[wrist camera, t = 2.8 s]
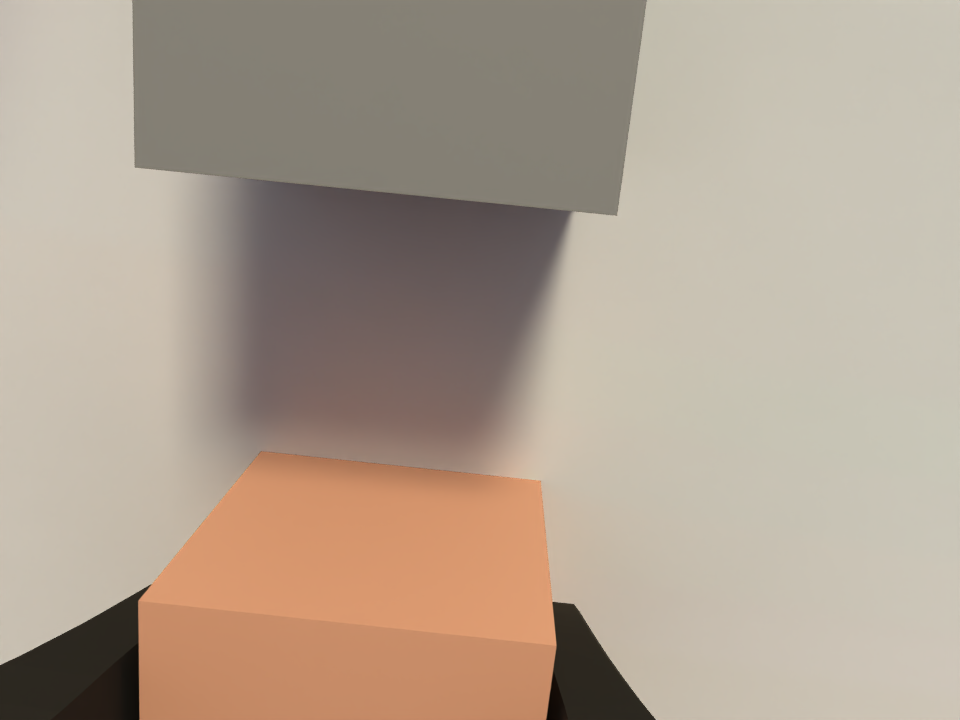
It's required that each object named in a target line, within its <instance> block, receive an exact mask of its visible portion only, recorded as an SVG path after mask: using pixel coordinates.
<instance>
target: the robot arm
mask: <svg viewBox="0 0 960 720" xmlns="http://www.w3.org/2000/svg"><path fill="white" fill-rule="evenodd" d="M151 585H152V584H151ZM151 585H149V586H148V587H146V588H144V589H142V590H141V591H139V592H137V593H136V594H134V595H132V596H130V597H129V598H127V599H125V600H123V601H122V602H120V603H118V604H116V605H115V606H113V607H111V608H109V609H108V610H106V611H104V612H102V613H101V614H99V615H97V616H95V617H94V618H92V619H90V620H88V621H86V622H85V623H83V624H81V625H79V626H77V627H75V628H73V629H71V630H69V631H67V632H65V633H64V634H62V635H60V636H58V637H56V638H54V639H52V640H50V641H48V642H46V643H44V644H42V645H40V646H38V647H36V648H34V649H33V650H31V651H29V652H27V653H25V654H23V655H21V656H19V657H17V658H15V659H12V660H10V661H8V662H6V663H4V664H2V665H0V720H140V716H139V623H138V601H139V599H140V598H141V597H142V596H143V595H144V593H145V592H146V591H147V590H148V588H149V587H150V586H151ZM552 604H553V614H554V625H555V635H556V645H557V646H556V653H555V660H554V667H553V675H552V682H551V689H550V696H549V703H548V710H547V717H546V720H656V719H655V718H654V717H653V716H652V715H651V713H650V712H649V711H648V710H647V708H646V707H645V706H644V705H643V703H642V702H641V701H640V700H639V698H638V697H637V696H636V694H635V693H634V692H633V690H632V689H631V688H630V686H629V685H628V684H627V682H626V681H625V680H624V678H623V677H622V675H621V674H620V673H619V671H618V670H617V669H616V667H615V666H614V664H613V663H612V661H611V660H610V659H609V657H608V656H607V654H606V653H605V651H604V650H603V648H602V647H601V645H600V644H599V642H598V640H597V639H596V637H595V636H594V634H593V633H592V631H591V629H590V628H589V626H588V625H587V623H586V621H585V620H584V618H583V616H582V615H581V613H580V612H579V610H578V609H577V608H576V606H575V605H574V604H567V603H558V602H552Z"/></svg>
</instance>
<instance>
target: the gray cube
mask: <svg viewBox="0 0 960 720" xmlns="http://www.w3.org/2000/svg"><path fill="white" fill-rule="evenodd" d="M646 1H647V0H132V3H133V76H134V149H135V168H145V169H155V170H165V171H175V172H185V173H195V174H205V175H215V176H225V177H235V178H245V179H256V180H266V181H276V182H286V183H296V184H306V185H316V186H326V187H336V188H346V189H356V190H366V191H376V192H386V193H396V194H406V195H416V196H426V197H436V198H446V199H456V200H466V201H476V202H486V203H496V204H506V205H516V206H526V207H536V208H546V209H556V210H566V211H576V212H586V213H596V214H606V215H616V216H617V212H618V204H619V197H620V190H621V183H622V175H623V168H624V161H625V153H626V146H627V139H628V132H629V124H630V117H631V110H632V103H633V95H634V88H635V81H636V74H637V66H638V59H639V52H640V45H641V37H642V30H643V23H644V15H645V8H646Z"/></svg>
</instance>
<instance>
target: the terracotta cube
mask: <svg viewBox="0 0 960 720" xmlns="http://www.w3.org/2000/svg"><path fill="white" fill-rule="evenodd" d="M138 623H139V716H140V720H546V717H547V710H548V703H549V696H550V689H551V682H552V675H553V667H554V660H555V653H556V646H557V645H556V635H555V625H554V614H553V604H552V594H551V584H550V573H549V563H548V553H547V543H546V532H545V522H544V512H543V501H542V491H541V481H537V480H528V479H518V478H509V477H499V476H490V475H480V474H471V473H461V472H452V471H442V470H433V469H423V468H414V467H404V466H395V465H385V464H376V463H367V462H357V461H348V460H338V459H329V458H319V457H310V456H300V455H291V454H281V453H272V452H262V451H261V452H260V453H259V455H258V456H257V457H256V458H255V459H254V461H253V462H252V463H251V464H250V466H249V467H248V468H247V469H246V470H245V472H244V473H243V474H242V475H241V477H240V478H239V479H238V480H237V481H236V483H235V484H234V485H233V486H232V487H231V489H230V490H229V491H228V492H227V494H226V495H225V496H224V497H223V498H222V500H221V501H220V502H219V503H218V505H217V506H216V507H215V508H214V509H213V511H212V512H211V513H210V514H209V515H208V517H207V518H206V519H205V520H204V522H203V523H202V524H201V525H200V526H199V528H198V529H197V530H196V531H195V532H194V534H193V535H192V536H191V537H190V539H189V540H188V541H187V542H186V543H185V545H184V546H183V547H182V548H181V550H180V551H179V552H178V553H177V554H176V556H175V557H174V558H173V559H172V560H171V562H170V563H169V564H168V565H167V567H166V568H165V569H164V570H163V571H162V573H161V574H160V575H159V576H158V578H157V579H156V580H155V581H154V582H153V584H152V585H151V586H150V587H149V588H148V590H147V591H146V592H145V593H144V595H143V596H142V597H141V598H140V599H139V601H138Z"/></svg>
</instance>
